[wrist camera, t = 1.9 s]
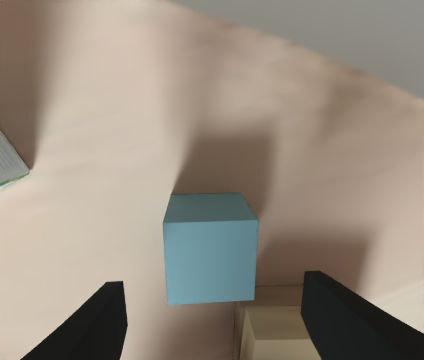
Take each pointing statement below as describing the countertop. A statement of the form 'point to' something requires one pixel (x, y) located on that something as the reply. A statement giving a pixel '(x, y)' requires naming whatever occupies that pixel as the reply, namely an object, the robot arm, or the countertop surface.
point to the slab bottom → (264, 297)
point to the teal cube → (209, 248)
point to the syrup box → (10, 163)
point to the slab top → (276, 334)
